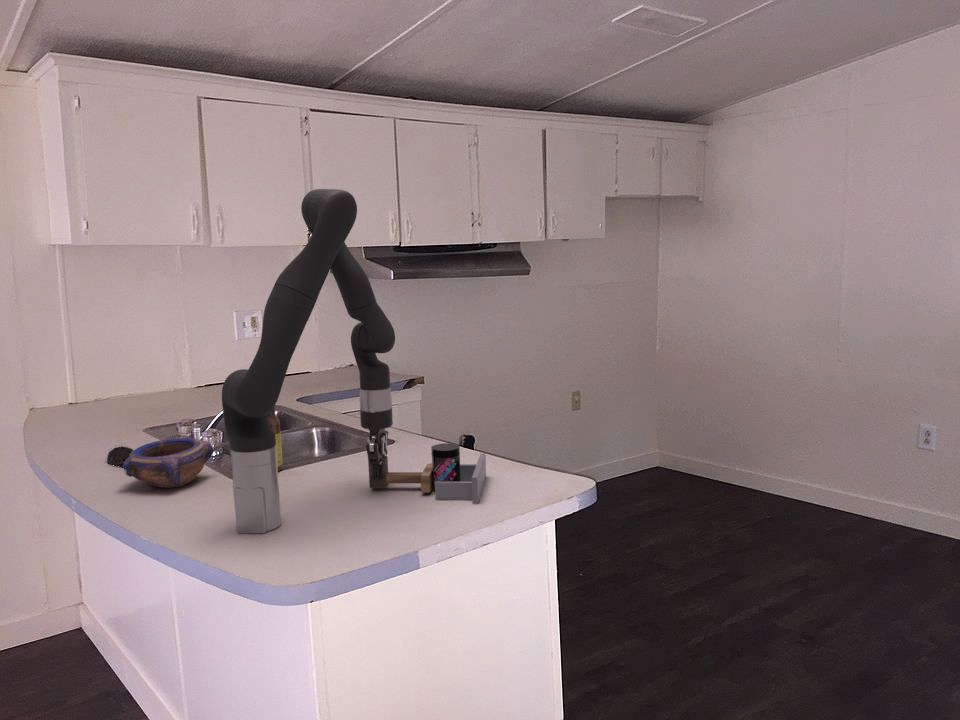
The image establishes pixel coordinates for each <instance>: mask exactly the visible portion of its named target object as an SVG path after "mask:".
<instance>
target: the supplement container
mask: <svg viewBox="0 0 960 720" xmlns="http://www.w3.org/2000/svg"><path fill="white" fill-rule="evenodd" d="M430 450H431V464H432V476H433V487H432V490H434V491H435V482H462V481H461V474H460V464H461V447H460V445H459V444H457V443H449V442H448V443H447V442H446V443H445V442H444V443H438V444H433V445H432V446H431V448H430Z"/></svg>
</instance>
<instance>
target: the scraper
mask: <svg viewBox="0 0 960 720" xmlns="http://www.w3.org/2000/svg"><path fill="white" fill-rule="evenodd" d="M374 459H376V457H374ZM367 463H368V481H369V482H368V484H369V489H386V488H387V487H388V486H389V484H420V491H421V494H422V493H427V494H428V493H429V494H430V492H431V491H432V490H433V476H432V463H427V464H426V465H425V467H424V469H423V471H420V472H419V471H417V472H416V471H415V472H413V471H411V472H410V471H409V472H403V471H402V472H401V471H398V472H397V471H396V472H394V471H392V472H389V458H388V455H386V456H382V479H381V480H373V476H372V465H369V461H368V462H367Z"/></svg>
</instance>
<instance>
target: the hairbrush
mask: <svg viewBox="0 0 960 720" xmlns="http://www.w3.org/2000/svg"><path fill="white" fill-rule="evenodd" d="M120 445H121V446H120ZM123 445H124V446H123ZM123 445H122V443H121V444H120V443H119V444H118V447H117V445H116V444H115V445H114V447H113V448H111V447H110V448H109V449H108V453H107V458H106V462H107V464H108V463H109V464H111V465H114V466H122V467H123V462H124V461H123V460H126V459H127V458H128V457H129V456H130V454H131V453H132V451H134V450H135V449H133V448H131V447H129V446H125V445H126V444H125V443H123ZM109 464H108V465H109ZM111 465H110V466H111ZM114 466H113V467H114ZM126 472H127V471H126ZM127 474H128V476H130V474H129V473H128V472H127ZM131 476H132V475H131ZM131 476H130V477H131Z"/></svg>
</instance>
